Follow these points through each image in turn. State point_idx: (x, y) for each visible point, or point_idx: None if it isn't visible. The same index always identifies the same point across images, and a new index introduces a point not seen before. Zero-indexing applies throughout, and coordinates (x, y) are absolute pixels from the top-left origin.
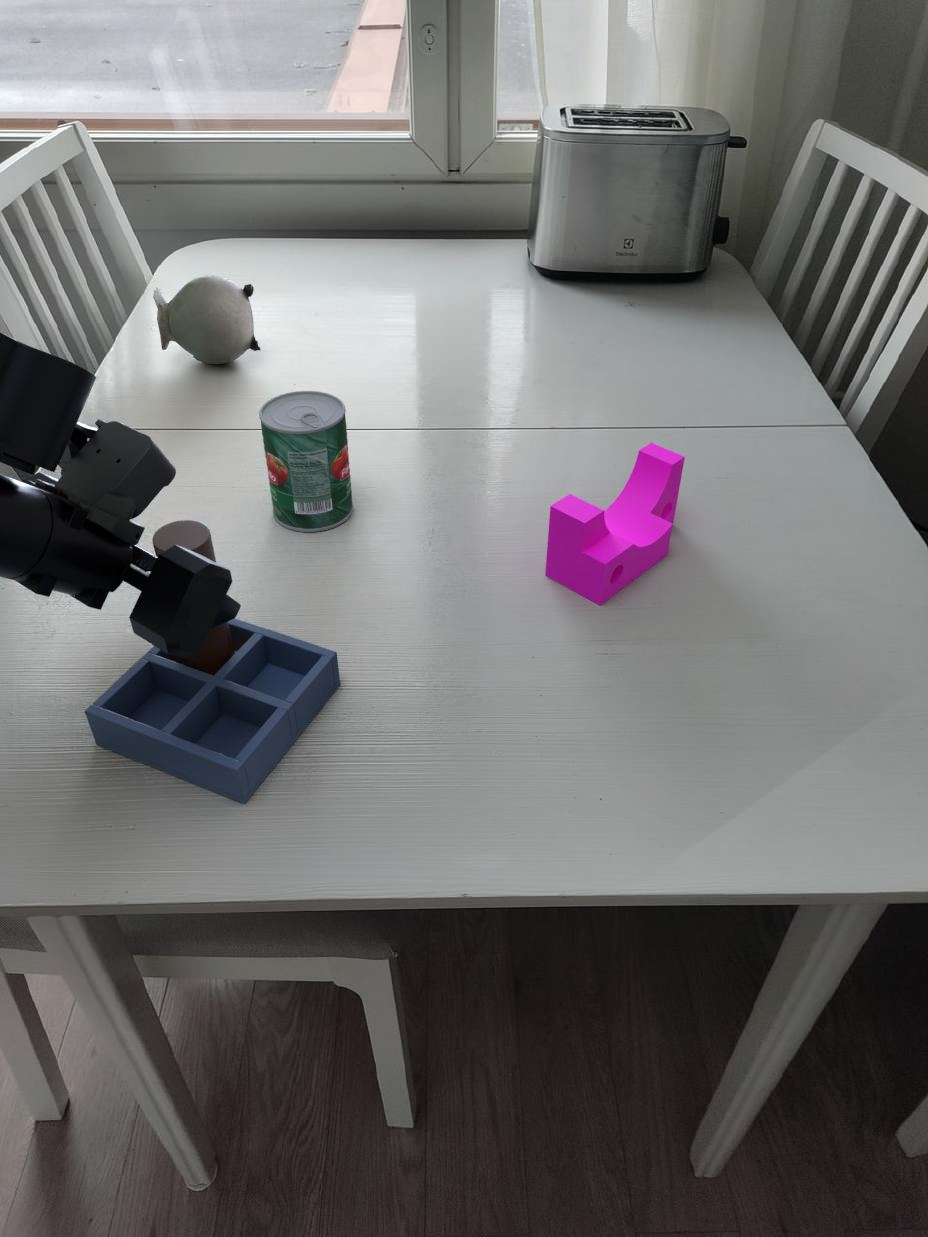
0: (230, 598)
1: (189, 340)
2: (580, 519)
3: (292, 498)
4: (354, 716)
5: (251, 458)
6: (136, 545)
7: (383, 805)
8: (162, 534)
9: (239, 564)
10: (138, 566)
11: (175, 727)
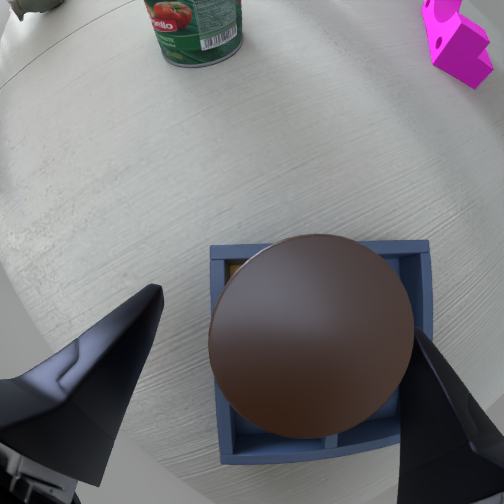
0: (451, 369)
1: (34, 4)
2: (485, 38)
3: (198, 37)
4: (433, 279)
5: (111, 32)
6: (127, 327)
7: (482, 349)
8: (249, 373)
9: (175, 128)
10: (150, 333)
11: (337, 439)
